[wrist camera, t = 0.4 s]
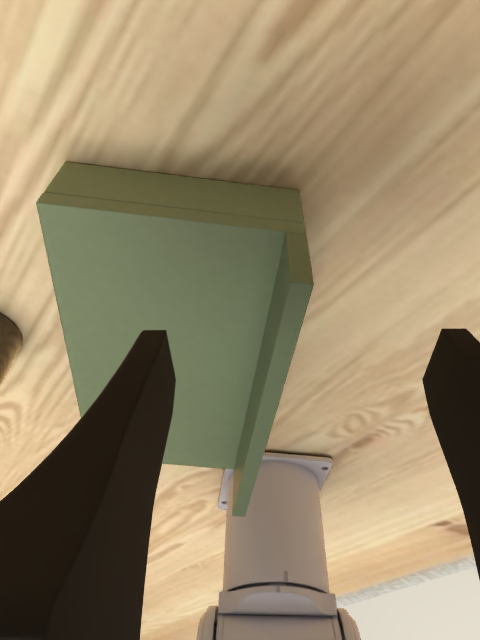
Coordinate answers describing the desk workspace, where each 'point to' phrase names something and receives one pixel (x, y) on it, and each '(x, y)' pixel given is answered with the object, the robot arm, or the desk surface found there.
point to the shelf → (183, 298)
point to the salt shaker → (8, 344)
